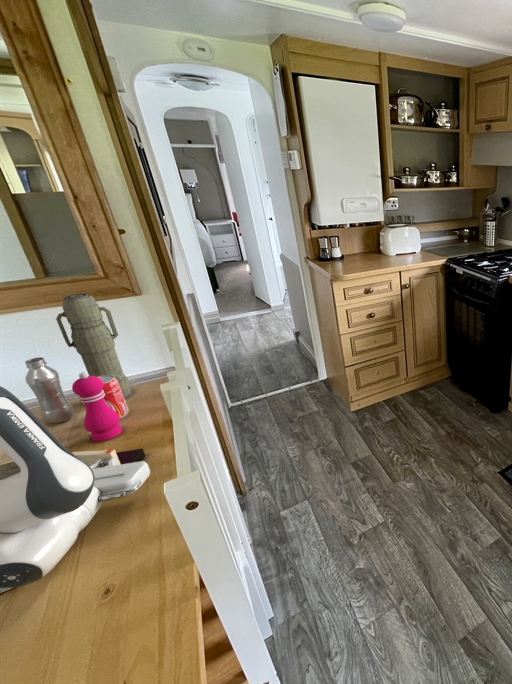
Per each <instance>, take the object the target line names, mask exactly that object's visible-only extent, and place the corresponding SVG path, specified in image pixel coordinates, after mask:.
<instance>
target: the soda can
mask: <svg viewBox="0 0 512 684" xmlns="http://www.w3.org/2000/svg"><path fill="white" fill-rule="evenodd" d="M98 378H100V379H101V380H102V381H103V384H104V385H103V388H102V390H103V391H104V393H105V396H104V400H105V403H106V404H107V405H108V406H109V407H110V408H112V409H113V410H114V411H116V412H117V414H118V415H119V417H120V420H122V419H124V418H125V417H126V416H127V415H128V413H129V411H130V410H129V407H128V405H127V401H126V398H125V399H124V396H123V393H122V391H121V388H120V385H119V383H118V381H117V380H116V379H115V378H114V376H113V375H103V376H98Z"/></svg>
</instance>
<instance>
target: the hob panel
mask: <svg viewBox="0 0 512 684" xmlns="http://www.w3.org/2000/svg"><path fill="white" fill-rule="evenodd" d="M116 454H117V456H118V459H119V461H120V464H128V463H134V462H140V461H144V459H145V458H146V454H145V451H144V449H143V448H137V449H130V450H124V451H116Z"/></svg>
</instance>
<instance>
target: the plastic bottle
mask: <svg viewBox="0 0 512 684" xmlns="http://www.w3.org/2000/svg"><path fill="white" fill-rule="evenodd" d="M24 363H25V365H26V369H28V371H27V373H26V375H25V383H26V384H27V385H28V387H29V388H30V390H31V391H32V392H33V394H34V395H35V397H36V399H37V401H38V404H39V408H40V413H41V419H42V420H43V421H44V422H46V423H47V424H59V423H63V422H65V421H68V420H70V419H71V418H72V417H73V416H74V414H75V409H74V406H73V405H72V404H71V403H70V402H69V400H68V399H67V397H66V395H65V393H64V390H63V388H62V385H61V380H60V376H59V373H58V371H57V370H56V369H55V368H53V367H51V366H48V365H47V364H48V363H47V361H46V359H45V358H44V357H34V358H30V359H26V360H25V362H24Z"/></svg>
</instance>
